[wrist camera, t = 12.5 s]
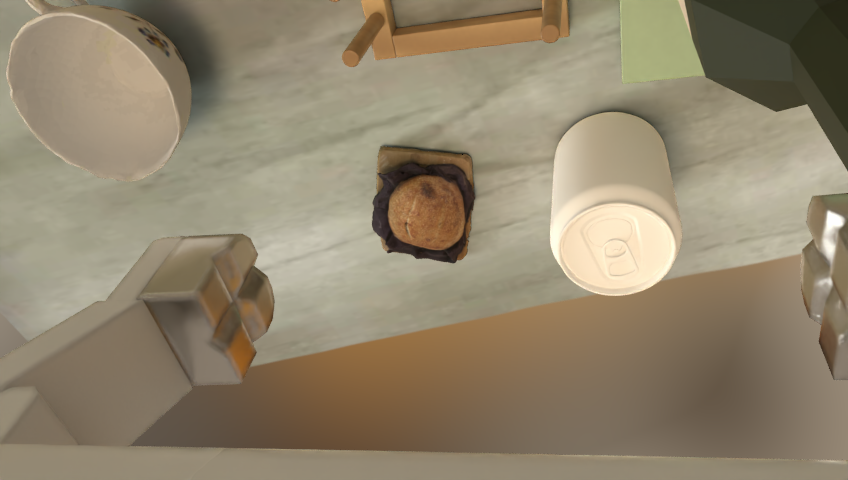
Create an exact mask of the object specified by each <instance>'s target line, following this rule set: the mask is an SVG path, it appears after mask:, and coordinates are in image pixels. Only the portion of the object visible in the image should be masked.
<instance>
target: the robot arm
mask: <svg viewBox="0 0 848 480" xmlns="http://www.w3.org/2000/svg"><path fill="white" fill-rule="evenodd" d="M806 223H807V225H808V227H809V230H810V232H811V234H812V237H813V240H812V241H811V242H810V243H809V244H808V245H807V246H806V247H805V248H803V249H802V258H801V268H800V273H801V290H802V295H803V299H804V304H805V306H806V309H807V312H808V315H809V317H810V318H811V319H813V320H814V321H816V322H817V323H819V324H820V325H821V331H820V338H819V344H820V346H821V349H822V351H823V354H824V356H825V358H826V361H827V363H828V366H829V369H830V371H831V374H832V376H833V379H834V380H848V193H843V194H831V195H819V196H813V197H812V199H811V202H810V204H809V208H808V214H807V221H806ZM257 256H258V253H257V251H256V249H255V247H254V245H253V243H252V241H251V239H250V238H249V237H247V236H245V235H243V234H223V235H201V236H188V237H185V236H180V237H167V238H161V239H158V240H154V241H153V242H152V243H151V245H150V246H149V247H148V248H147V250H146V251H145V252H144V253H143V255H142V256H141V257H140V258H139V260H138V261H137V262H136V263H135V265H134V266H133V267H132V268H131V270H130V271H129V272H128V273H127V275H126V276H125V277H124V278H123V280H122V281H121V282H120V283H119V284H118V286H117V287H116V288H115V289H114V291H113V292H112V293H111V294H110V296H109V297H108V298H107V299H106V301H97V302H95V303H93V304H92V305H90V306H88V307H87V308H85V309H83V310H82V311H80V312H78V313H76V314H75V315H73V316H71V317H70V318H68V319H66V320H64V321H63V322H61V323H59V324H58V325H56V326H54V327H53V328H51V329H49V330H47V331H46V332H44V333H42V334H41V335H39V336H37V337H36V338H34V339H32V340H30V341H29V342H27V343H25V344H24V345H22V346H20V347H18V348H17V349H15V350H13V351H12V352H10V353H8V354H7V355H5V356H3V357H2V358H0V480H848V460H801V459H800V460H799V459H794V460H793V459H750V458H705V457H704V458H703V457H702V458H701V457H657V456H611V455H566V454H564V455H563V454H516V453H515V454H514V453H462V452H409V451H406V452H405V451H354V450H300V449H250V448H249V449H248V448H247V449H246V448H198V447H148V446H145V447H144V446H130V445H131V444H132V443H133V442H134V441H135V440H136V439H137V438H139V437H140V435H142V434H143V433H144V432H145V431H146V430H147V429H148V428H150V426H152V425H153V424H154V423H155V422H156V421H157V420H158V419H159V418H161V417H162V416H163V415H164V414H165V413H166V412H167V411H168V410H169V409H170V408H172V407H173V405H175V404H176V403H177V402H178V401H179V400H180V399H182V398H183V397H184V396H185V395H186V394H187V393H188V392H189V391H190V390H191V389H192V388H193V387H192V386H193V385H221V384H241V382H242V380H243V379H244V377H245V375H246V373H247V371H248V369H249V367H250V365H251V363H252V361H253V359H254V357H255V355H256V353H257V352H256V350H255V347H254V345H253V342H254V341H256V340H257V339H258V338H260V337H261V336H262V335H264V334H265V333H266V332H267V330H268V328H269V326H270V324H271V321H272V319H273V311H274V303H275V302H274V296H273V290H272V286H271V284H270V282H269V279H268V277H267V276H266V275H265V274H264V273H263V272H261V271H260V270H259V269H258V268H256V267H255V266H254V265H255V262H256V259H257Z"/></svg>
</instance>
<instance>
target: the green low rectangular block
mask: <svg viewBox="0 0 848 480" xmlns="http://www.w3.org/2000/svg"><path fill="white" fill-rule="evenodd" d="M620 32H621V64H622V83H623V84H627V83H636V82H646V81H656V80H665V79H675V78H685V77H694V76H704V75H705V73H704V71H703V68H702V65H701V62H700V60H699V57H698V54H697V51H696V48H695V46H694V43H693V40H692V37H691V35H690V32H689V29H688V26H687V24H686V21H685V18H684V15H683V13H682V10H681V7H680V4H679V1H678V0H620Z"/></svg>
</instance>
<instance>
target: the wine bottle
mask: <svg viewBox="0 0 848 480" xmlns="http://www.w3.org/2000/svg"><path fill="white" fill-rule="evenodd" d="M678 1H679V4H680V7H681V10H682V13H683V15H684V18H685V21H686V24H687V26H688V29H689V32H690V35H691V37H692V40H693V43H694V46H695V48H696V51H697V54H698V57H699V60H700V62H701V65H702V68H703V71H704V73H705V76H706V77H707V78H709V79H711V80H713V81H715V82H717V83H719V84H721V85H723V86H725V87H727V88H729V89H731V90H733V91H735V92H737V93H739V94H741V95H743V96H745V97H747V98H749V99H751V100H753V101H755V102H757V103H759V104H761V105H764V106H766V107H768V108H770V109H772V110H774V111H776V112H778V111H782V110H786V109H790V108H794V107H798V106H801V105H805V104H808V106H809V108H810V109H811V111H812V113H813V114H814V116H815V118H816V119H817V121H818V123H819V124H820V126H821V127H822V129H823V131H824V132H825V134H826V136H827V137H828V139H829V141H830V142H831V144H832V146H833V147H834V149H835V151H836V152H837V154H838V156H839V157H840V159H841V161H842V162H843V164H844V165H845V167H846V169H847V170H848V0H678Z"/></svg>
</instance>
